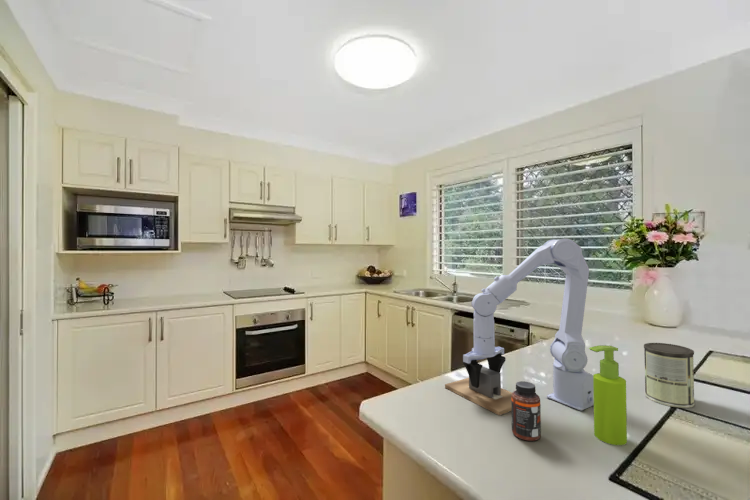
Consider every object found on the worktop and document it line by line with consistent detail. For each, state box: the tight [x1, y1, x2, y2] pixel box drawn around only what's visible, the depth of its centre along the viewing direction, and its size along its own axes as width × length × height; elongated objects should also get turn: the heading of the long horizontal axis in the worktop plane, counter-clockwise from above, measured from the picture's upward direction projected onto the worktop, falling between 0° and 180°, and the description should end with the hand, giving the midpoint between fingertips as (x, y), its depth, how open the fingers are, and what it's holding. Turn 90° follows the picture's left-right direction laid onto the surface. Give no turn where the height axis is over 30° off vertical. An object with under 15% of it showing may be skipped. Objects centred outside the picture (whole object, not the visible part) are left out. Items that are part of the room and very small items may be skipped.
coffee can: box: [643, 342, 696, 409], centre depth 91 cm, size 10×10×14 cm
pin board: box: [444, 377, 513, 416], centre depth 96 cm, size 20×12×3 cm, turn 30°
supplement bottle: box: [511, 380, 542, 442], centre depth 75 cm, size 6×6×11 cm
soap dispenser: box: [588, 344, 628, 446], centre depth 73 cm, size 6×7×20 cm
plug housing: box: [468, 366, 502, 398], centre depth 96 cm, size 8×4×6 cm, turn 30°
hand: (484, 383), depth 96 cm, fingers open, 7 cm apart
